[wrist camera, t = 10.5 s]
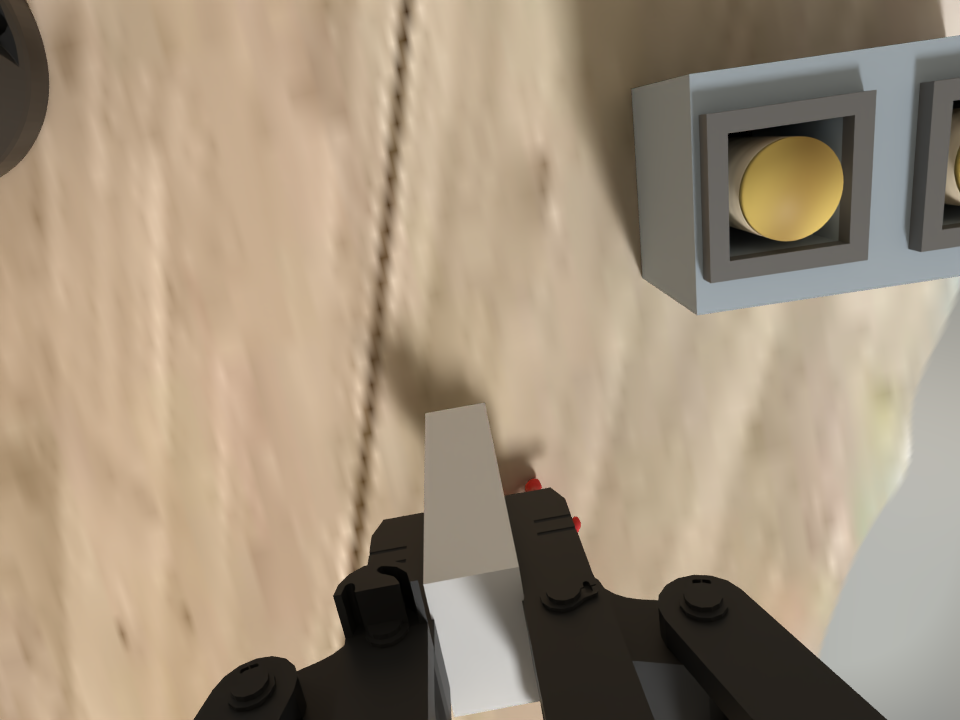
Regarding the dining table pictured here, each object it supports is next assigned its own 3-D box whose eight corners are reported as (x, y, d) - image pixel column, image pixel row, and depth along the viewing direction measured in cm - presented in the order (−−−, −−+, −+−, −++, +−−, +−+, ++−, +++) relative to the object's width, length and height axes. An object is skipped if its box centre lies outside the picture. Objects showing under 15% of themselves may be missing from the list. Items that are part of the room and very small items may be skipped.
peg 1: (678, 224, 42) (743, 247, 33) (675, 142, 41) (742, 144, 32) (755, 213, 42) (841, 233, 33) (755, 131, 41) (845, 129, 32)
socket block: (642, 278, 45) (704, 320, 35) (631, 88, 41) (697, 72, 31) (931, 235, 45) (1078, 264, 35) (947, 43, 42) (1117, 11, 31)
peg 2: (847, 200, 43) (956, 217, 34) (850, 118, 41) (966, 112, 32) (923, 189, 43) (1054, 202, 34) (930, 106, 41) (1068, 97, 32)
